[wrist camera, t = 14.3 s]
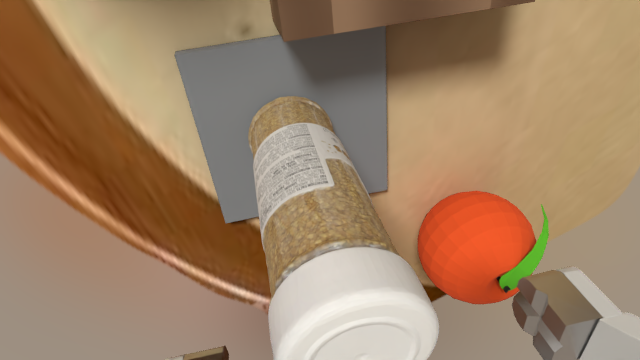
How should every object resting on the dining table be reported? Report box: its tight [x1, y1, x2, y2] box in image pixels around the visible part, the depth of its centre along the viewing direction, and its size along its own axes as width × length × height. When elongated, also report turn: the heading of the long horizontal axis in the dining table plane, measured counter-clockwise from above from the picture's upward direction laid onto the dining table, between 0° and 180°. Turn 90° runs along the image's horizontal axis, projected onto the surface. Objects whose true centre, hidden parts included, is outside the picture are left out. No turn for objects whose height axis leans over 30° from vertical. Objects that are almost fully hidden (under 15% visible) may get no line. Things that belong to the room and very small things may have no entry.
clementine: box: [418, 191, 549, 304], centre depth 25 cm, size 8×7×7 cm
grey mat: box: [175, 26, 387, 223], centre depth 22 cm, size 10×10×1 cm
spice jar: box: [248, 96, 439, 360], centre depth 16 cm, size 5×5×13 cm
